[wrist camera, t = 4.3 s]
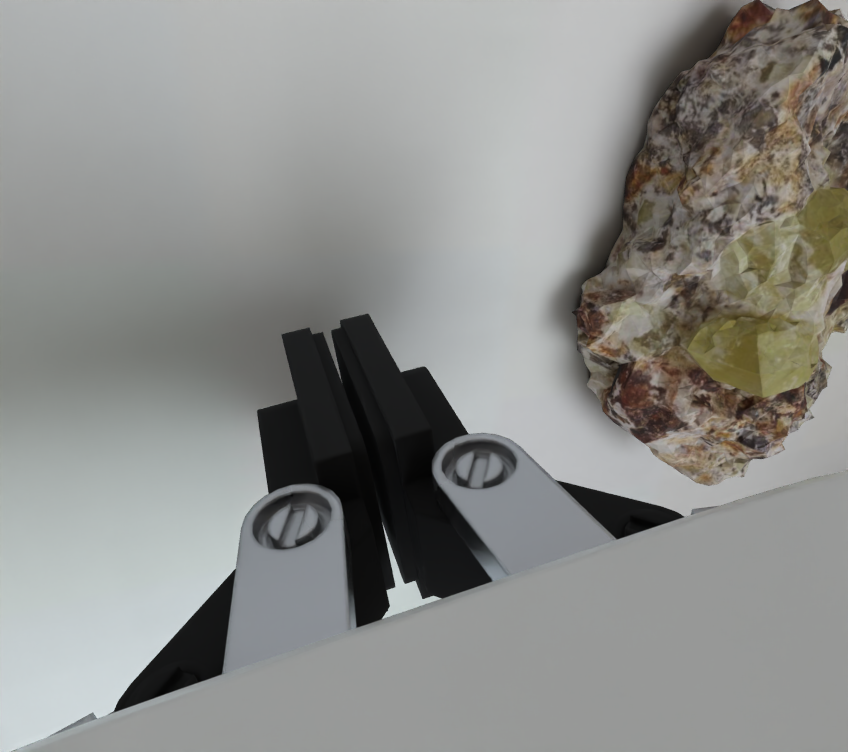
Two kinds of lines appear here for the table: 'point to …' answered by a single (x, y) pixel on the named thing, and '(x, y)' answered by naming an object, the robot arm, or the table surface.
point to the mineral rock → (730, 249)
